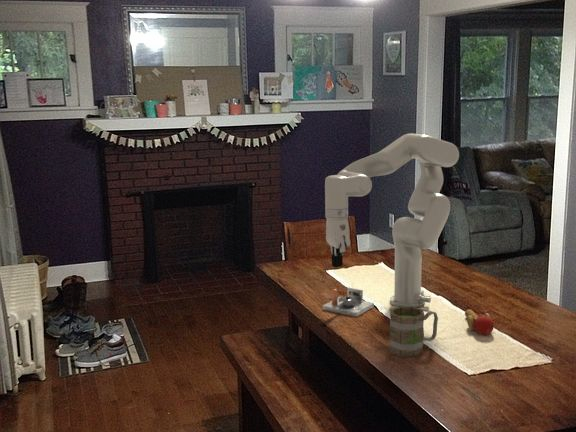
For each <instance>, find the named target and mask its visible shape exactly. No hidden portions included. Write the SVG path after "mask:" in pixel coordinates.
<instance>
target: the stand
mask: <svg viewBox="0 0 576 432" xmlns="http://www.w3.org/2000/svg"><path fill="white" fill-rule="evenodd" d="M346 289H347V291H346V293H347V294H346V295H347V296H350V297H354V298H355V299H356V304H355V305H354V306H351V307H344V306H339V307H337V308H335V309H334V308H332V306H333V305H332V300H330V301H329V302H326V303H325V304H323V305H322V311H323V310H324V311H328V312H333V313H337V314H341V315H346V316H351V317H355V318H358V317H359V316H361V315H362V314H364V313H366V312H367V311H369V310H371V309H373V308H374V306H375V305H374V302H371V301H366V300H364V290H363V289H359V288H356V287H355V288H354V287H347V288H346ZM340 297H342V296H338V303H339V298H340Z"/></svg>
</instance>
